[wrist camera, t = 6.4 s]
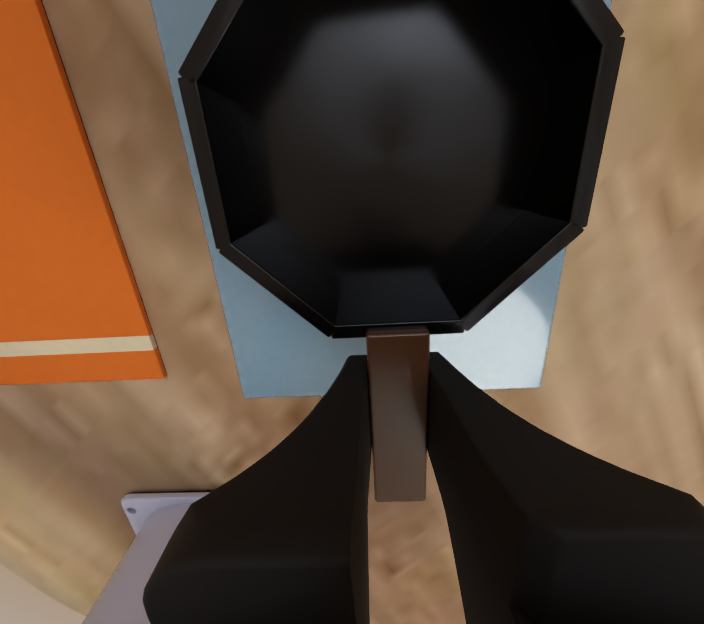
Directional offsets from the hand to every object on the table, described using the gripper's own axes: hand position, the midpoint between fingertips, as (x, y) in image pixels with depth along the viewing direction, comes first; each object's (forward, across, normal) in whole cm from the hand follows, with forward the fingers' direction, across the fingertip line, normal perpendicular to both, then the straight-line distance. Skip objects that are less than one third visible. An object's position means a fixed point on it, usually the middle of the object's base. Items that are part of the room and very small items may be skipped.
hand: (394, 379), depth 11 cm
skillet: (+1, 0, -4) cm, 4 cm away
